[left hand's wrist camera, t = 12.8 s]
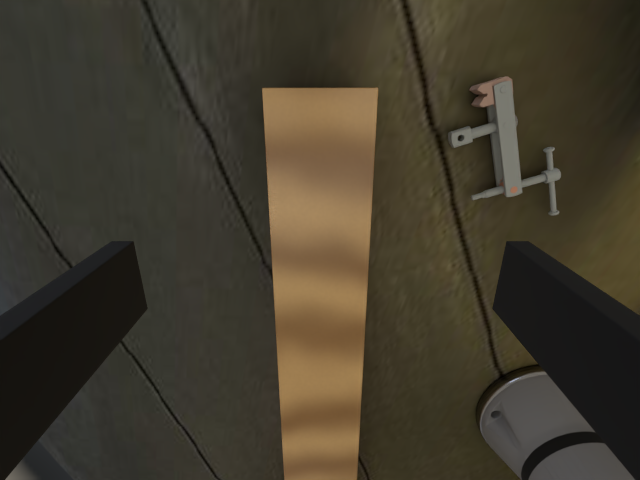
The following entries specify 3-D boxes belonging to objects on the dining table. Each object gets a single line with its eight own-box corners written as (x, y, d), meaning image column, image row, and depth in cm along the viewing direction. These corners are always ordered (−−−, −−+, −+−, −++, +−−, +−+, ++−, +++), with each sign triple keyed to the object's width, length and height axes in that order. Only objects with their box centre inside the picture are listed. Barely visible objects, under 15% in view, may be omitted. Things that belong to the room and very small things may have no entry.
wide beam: (273, 90, 34) (261, 87, 27) (366, 90, 34) (378, 87, 27) (293, 525, 59) (290, 582, 52) (347, 525, 59) (351, 582, 52)
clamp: (446, 96, 32) (558, 60, 31) (439, 96, 34) (543, 62, 33) (470, 241, 37) (566, 215, 36) (462, 234, 40) (553, 209, 38)
